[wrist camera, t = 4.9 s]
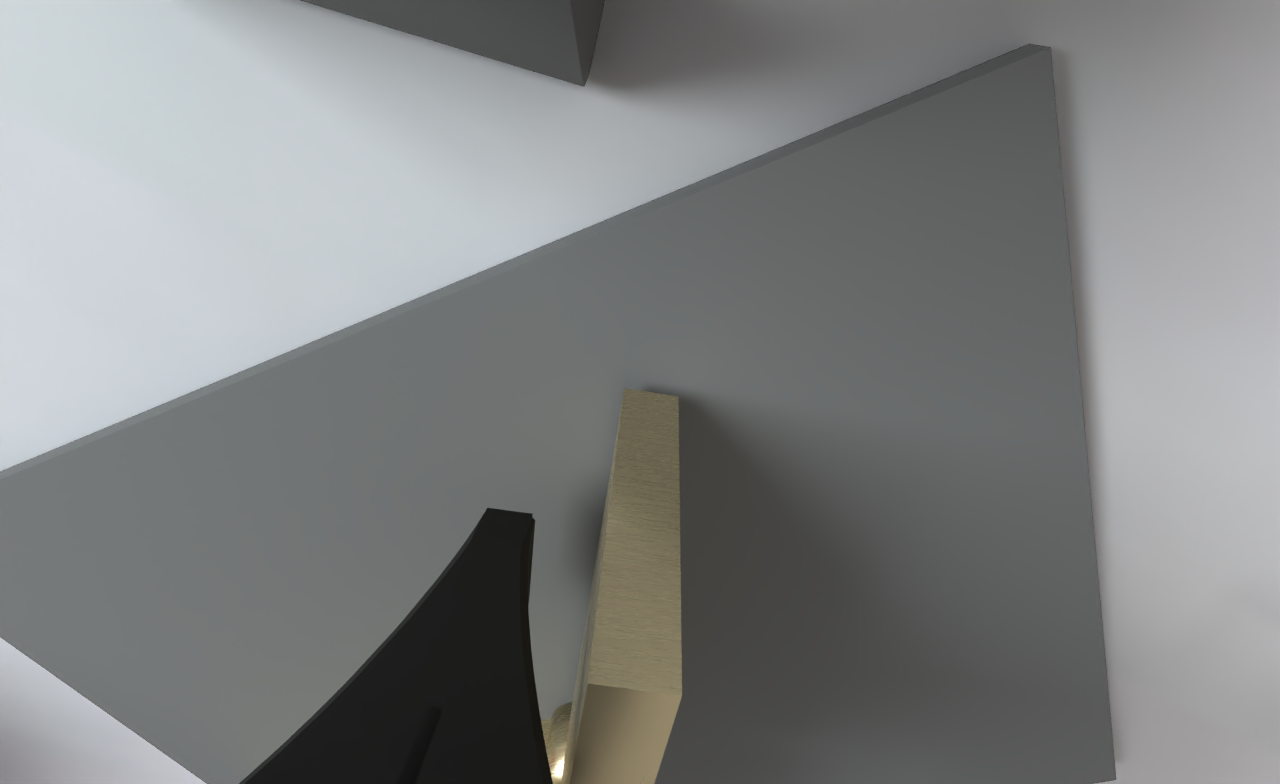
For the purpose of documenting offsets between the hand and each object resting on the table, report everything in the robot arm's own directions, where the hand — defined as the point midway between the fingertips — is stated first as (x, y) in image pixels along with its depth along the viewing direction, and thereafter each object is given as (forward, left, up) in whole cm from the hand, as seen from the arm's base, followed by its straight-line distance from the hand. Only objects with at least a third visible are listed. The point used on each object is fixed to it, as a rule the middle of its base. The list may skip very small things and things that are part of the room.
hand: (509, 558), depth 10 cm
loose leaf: (-3, 0, -1) cm, 3 cm away
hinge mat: (-4, +2, -2) cm, 5 cm away
